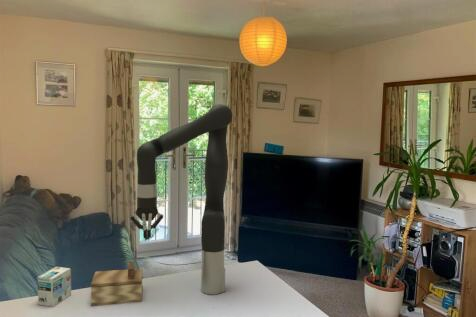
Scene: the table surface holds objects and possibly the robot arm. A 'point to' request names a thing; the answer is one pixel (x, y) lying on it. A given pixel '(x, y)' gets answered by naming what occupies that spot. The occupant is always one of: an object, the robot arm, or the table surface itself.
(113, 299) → the wooden box
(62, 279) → the light bulb box
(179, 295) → the table surface
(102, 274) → the lid
